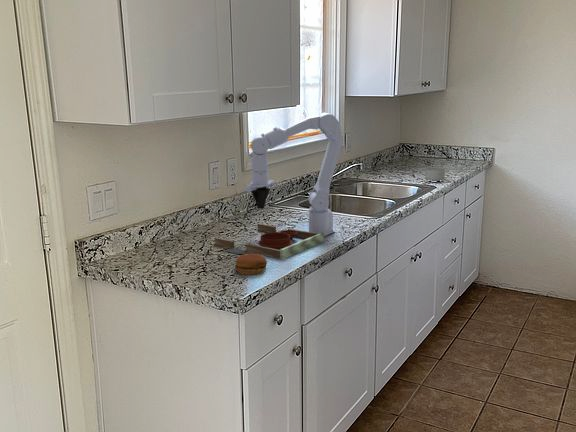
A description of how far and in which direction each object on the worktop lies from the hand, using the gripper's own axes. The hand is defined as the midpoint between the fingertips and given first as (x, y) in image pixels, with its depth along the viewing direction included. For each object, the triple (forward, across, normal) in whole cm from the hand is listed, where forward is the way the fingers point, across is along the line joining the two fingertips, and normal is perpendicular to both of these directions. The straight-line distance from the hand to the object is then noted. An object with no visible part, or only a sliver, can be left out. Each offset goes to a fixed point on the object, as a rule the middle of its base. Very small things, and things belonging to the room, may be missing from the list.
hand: (260, 208), depth 207 cm
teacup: (+11, -144, +11) cm, 145 cm away
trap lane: (+10, +6, +8) cm, 15 cm away
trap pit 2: (+10, -8, +5) cm, 14 cm away
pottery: (+11, +6, +13) cm, 18 cm away
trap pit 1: (+10, +20, +5) cm, 24 cm away
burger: (+11, +32, +21) cm, 40 cm away
